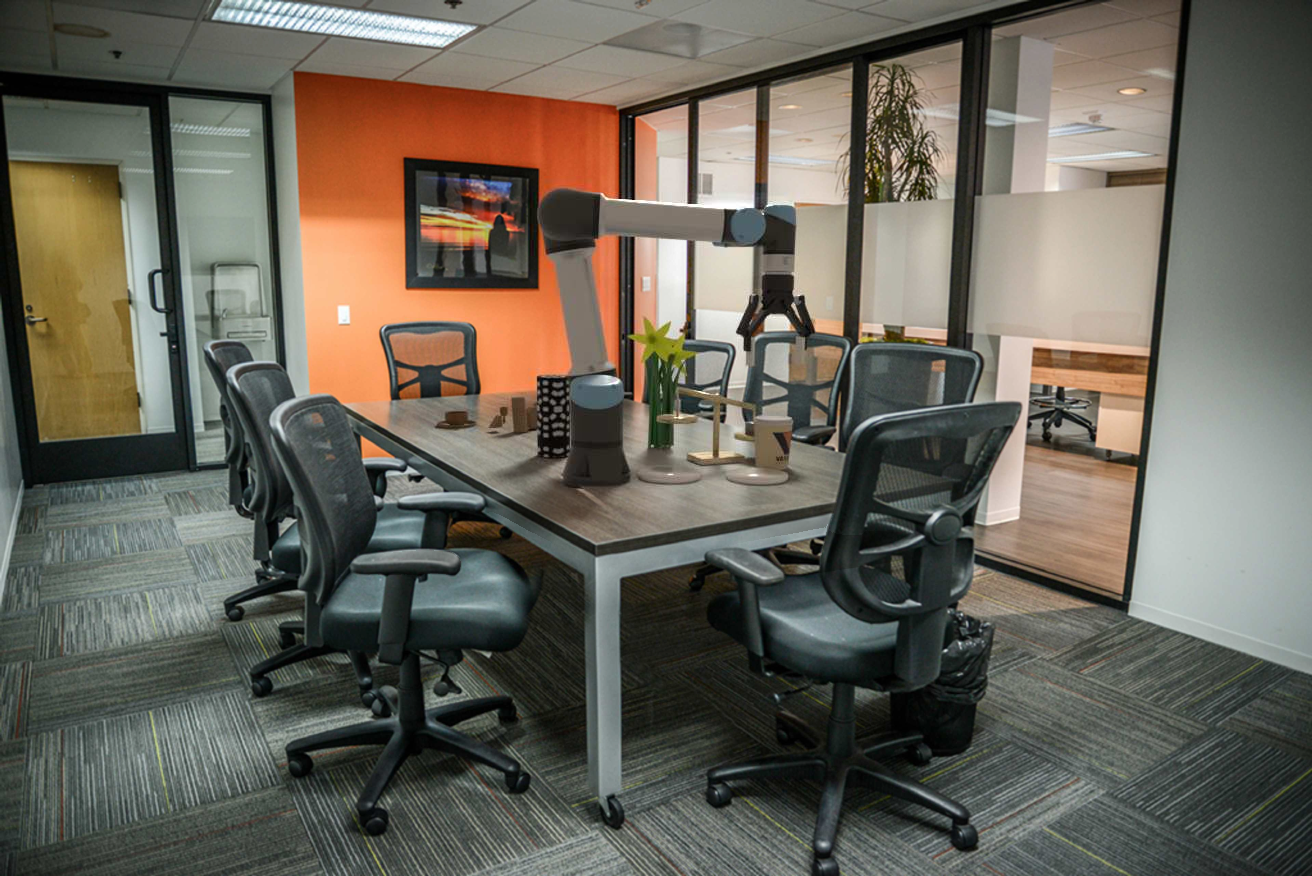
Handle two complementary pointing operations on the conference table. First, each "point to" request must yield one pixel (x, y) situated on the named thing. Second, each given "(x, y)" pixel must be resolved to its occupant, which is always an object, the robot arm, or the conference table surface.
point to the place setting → (463, 419)
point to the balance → (716, 455)
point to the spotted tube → (553, 416)
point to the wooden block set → (519, 416)
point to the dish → (756, 476)
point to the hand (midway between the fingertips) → (775, 365)
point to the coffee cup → (772, 441)
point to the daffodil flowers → (661, 378)
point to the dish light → (669, 475)
